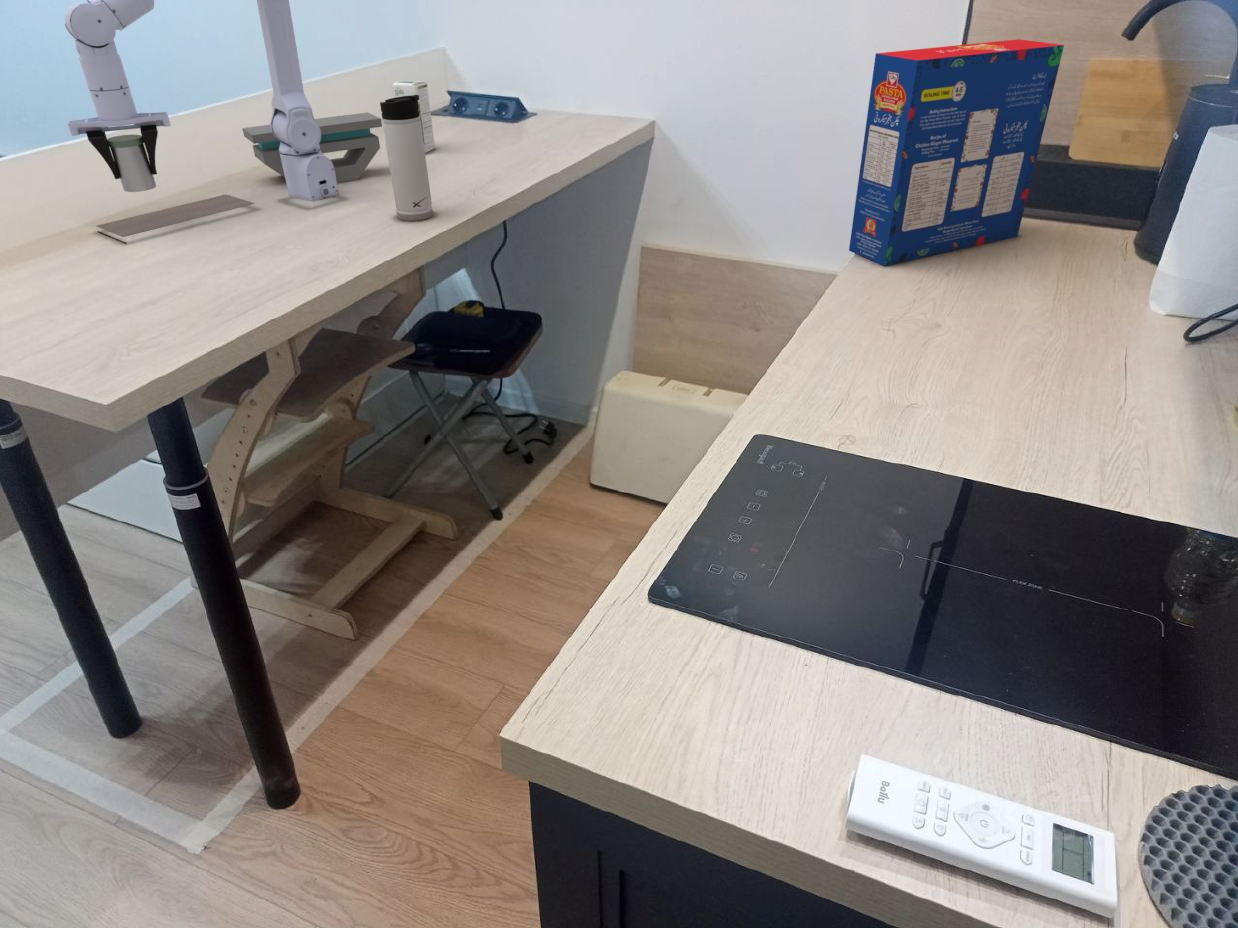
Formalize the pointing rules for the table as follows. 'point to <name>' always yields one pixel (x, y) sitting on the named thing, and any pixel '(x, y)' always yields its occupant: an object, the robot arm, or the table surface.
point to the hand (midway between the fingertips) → (136, 175)
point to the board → (172, 215)
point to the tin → (132, 162)
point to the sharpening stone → (327, 143)
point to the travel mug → (407, 157)
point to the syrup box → (424, 107)
